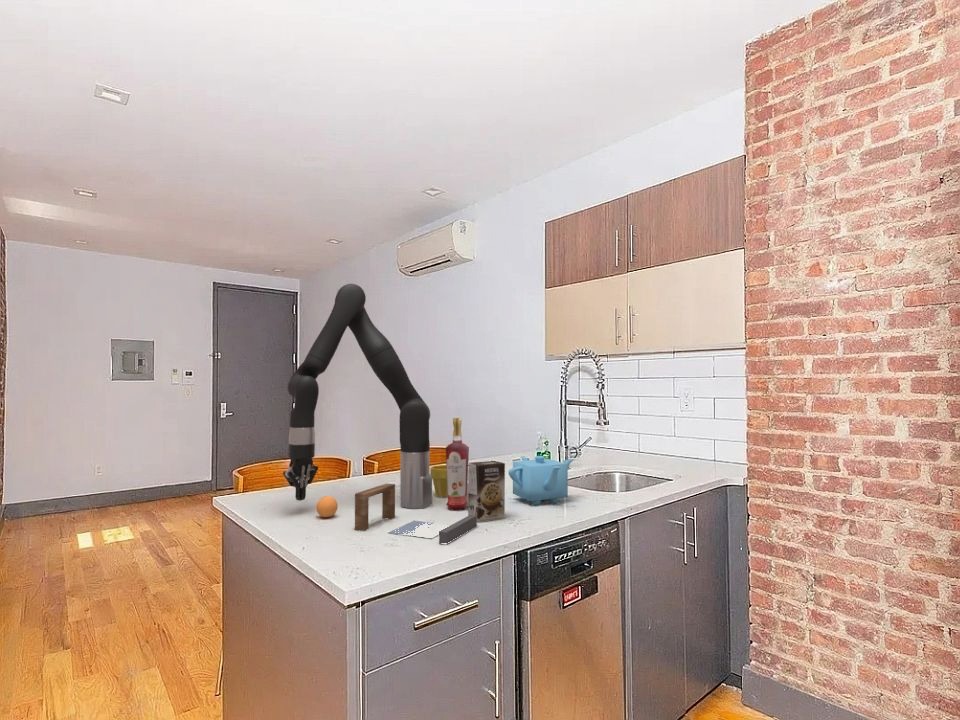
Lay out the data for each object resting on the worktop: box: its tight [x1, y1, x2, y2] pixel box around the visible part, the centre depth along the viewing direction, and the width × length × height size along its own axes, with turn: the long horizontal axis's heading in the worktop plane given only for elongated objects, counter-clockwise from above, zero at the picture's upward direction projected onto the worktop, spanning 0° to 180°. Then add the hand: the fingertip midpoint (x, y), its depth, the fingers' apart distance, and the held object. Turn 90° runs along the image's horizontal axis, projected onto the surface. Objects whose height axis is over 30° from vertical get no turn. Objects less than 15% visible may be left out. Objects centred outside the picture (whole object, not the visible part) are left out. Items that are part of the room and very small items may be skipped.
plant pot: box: [430, 464, 448, 498], centre depth 192 cm, size 10×10×10 cm
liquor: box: [445, 417, 470, 511], centre depth 174 cm, size 7×7×28 cm
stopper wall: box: [438, 515, 478, 544], centre depth 145 cm, size 2×18×3 cm, turn 156°
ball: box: [316, 495, 339, 518], centre depth 163 cm, size 6×6×6 cm
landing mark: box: [387, 520, 434, 537], centre depth 150 cm, size 13×13×1 cm
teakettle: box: [508, 455, 575, 506], centre depth 184 cm, size 19×19×15 cm
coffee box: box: [467, 460, 506, 523], centre depth 162 cm, size 9×6×16 cm
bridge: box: [354, 483, 396, 532], centre depth 156 cm, size 3×15×10 cm, turn 156°
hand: (300, 499), depth 167 cm, fingers closed
